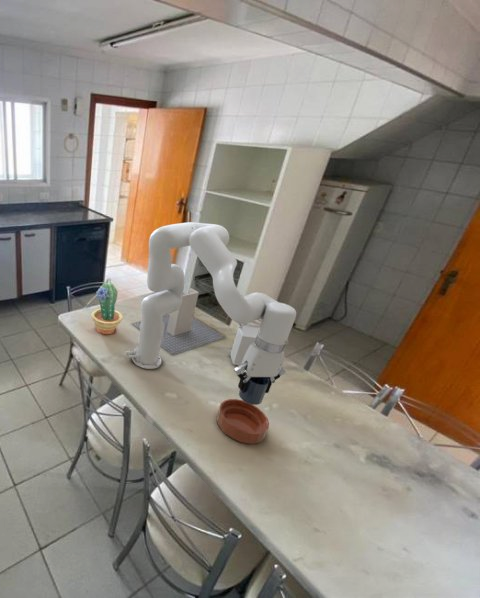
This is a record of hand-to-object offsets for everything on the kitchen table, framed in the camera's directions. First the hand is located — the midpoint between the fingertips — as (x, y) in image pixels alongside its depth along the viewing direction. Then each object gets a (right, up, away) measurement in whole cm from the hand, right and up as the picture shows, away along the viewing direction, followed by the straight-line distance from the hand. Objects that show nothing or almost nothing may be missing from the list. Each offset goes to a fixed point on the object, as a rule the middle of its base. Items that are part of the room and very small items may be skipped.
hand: (252, 389), depth 104 cm
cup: (0, -3, +1) cm, 3 cm away
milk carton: (+16, +1, +40) cm, 43 cm away
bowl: (-1, -14, +7) cm, 16 cm away
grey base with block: (-5, +13, +62) cm, 63 cm away
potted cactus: (-42, +14, +59) cm, 74 cm away
